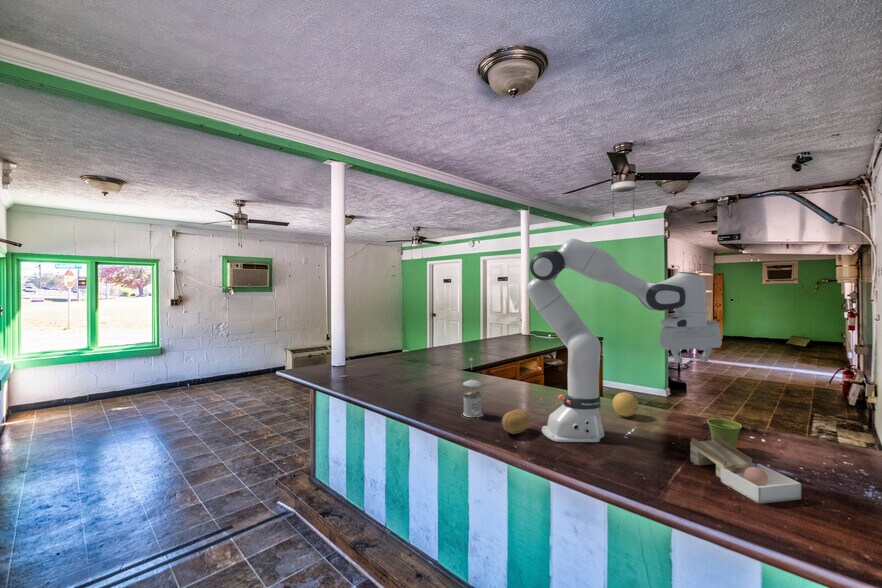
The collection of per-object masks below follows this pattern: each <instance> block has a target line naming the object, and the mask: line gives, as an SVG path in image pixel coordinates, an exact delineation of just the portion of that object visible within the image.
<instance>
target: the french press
mask: <svg viewBox="0 0 882 588" xmlns="http://www.w3.org/2000/svg"><path fill="white" fill-rule="evenodd" d="M474 361H475V360H474V358H473V357H470V358H469V362H471V363H470V365H471V369H473V362H474ZM462 385H463V387H467V388H477V389H478V391H477V390H467V391H464V395H463V412H462V413H463V415H464V416H466V417H481V416H483V414H484V413H483V412H482V399H483V395H484V394H483V387H482V383H481V382H480V381H478V380H476V379H469V380H466V381H464V382H463V383H462ZM480 389H481V391H480ZM483 417H484V416H483ZM481 418H482V417H481Z"/></svg>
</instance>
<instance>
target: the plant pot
mask: <svg viewBox="0 0 882 588" xmlns="http://www.w3.org/2000/svg"><path fill="white" fill-rule="evenodd" d="M706 423H707V424H708V428H709V430H710V437H711V440H714V436H717V437H719V438H720V439H722V440H724V441H725V442H727V443H728V444H730V445H731V446H733V447H734V448H736V449H737V443H738V438H739V433H740V431H741V429H742V428H743V426H742V424H741V423H739V422H736V421H733V420H729V419H726V418H725V419H724V418H708V419H707V420H706Z"/></svg>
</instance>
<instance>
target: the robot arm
mask: <svg viewBox="0 0 882 588" xmlns="http://www.w3.org/2000/svg"><path fill="white" fill-rule="evenodd" d="M565 269H570V270H573V271H574V272H577V273H578V274H581V275H582V276H584V277H586V278H589V279H592V280H594V281H598V282H601V283H607V284H611V285H614V286H616V287H618V288H620V289H622V290H624V291H626V292H628V293H629V294H631V295H632V296H635V297H636V298H637V299H638V300H639V301H640V302H641V304H642V305H643V306H644V307H645V308H647V309H649V310H651V311H658V312H666V311H669V310H674V315H671V316H669V317H666V318H664V319H661V321H660V324H661V326H662V328H661V329H660V334H659V346H660V348H662V350H666V351H670V353H671V354H672V356H673V357H674V359H673V360H674V363H675V364H676V363H677V364H682V363H683V357H681V356H680V354H679V353H680V351H681V350H694V349H695V350H697V349H698V350H699V349H701V350H702V351H703V352H702V354H701V355H700V356H699V358H700V359H699V361H700V362H702V363H703V362H704V363H705V362H706V363H707V362H709V356H710V355H711V352H712V349H718V348H721V346H722V344H723V342H722V333H721V329H720V323H719V322H718V321H716V320H715V319H709V320H708V319H707V317H708V316H707V308H706V301H707V287H706V282H705V278H704V276H703V275H701V274H700V273H695V272H688V271H687V272H685V271H682V272H681V271H680V272H677V273H676V274H674V275H673V276H671V277H669V278H667V279H665V280H662V281H660V282H649V281H647V280H643V279H642V278H640V277H638V276H636V275H635V274H632V273H631V272H629V271H626V270H625V269H624V268H623V267H622V266H621V265H620V264H619V262H618V261H617V259H616V258H615V257H614V256H613V255H611V254H610V253H608V252H607V251H605V250H603V249H602V248H601V247H598V246H596V245H594V244H592V243H589V242H586V241H583V240H580V239H577V238H569V239H567V240H566V241H565V242H564V243H562V245H561V246H560V248H558V250H557V249H554V248H553V249H552V248H549V249H548V248H547V249H542V250H540V251H539V252H537V253H535V254H534V255H533V257H532V258H531V260H530V262H529V271H530V273H531V274H532V277H533V279H531V280H530V281H529V282H528V284H527V285H526V288H525V289H526V290H525V291H526V293H527V295H528V298H529V300H530V301H531V303H532V305H533V306H534V308H535V309H536V311H537V312H538V313H539V314H540V316H541V317H542V319H544V321H545V323H547V324H548V326H549V327H550V329H551V330H552V331H553V332H554V333H555V334H556V336H557V337H558V338H559V339H560V341H561V342H562V343H563V344H564V346H565V347H566V348H567V393H566V395H563V394H559V395H558V400H560V401H562V402H563V403H562V404H561V405H560V406H559V407H558V408H557V409H555V410H554V411H553V412H551V413H550V414H549V416H548V418H547V419H548V420H547V425H543V426H541V427H542V428H541V432H542V434H543V435H544V436H545V437H546V438H548V439H550V440H551V441H553V442H558V443H599V442H600V441H601V439H602V438H604V437H605V436H606V435H605V431H604V429H603V428H604V427H603V425H602V424H603V423H602V418H601V407H602V406H601V405H602V404H601V395H600V383H599V382H600V367H601V366H600V363H601V343H600V342H601V341H600V340H599V338H598V337H597V336H596V335H595V334H594V333H593V332H592V331H591V330H590V329H589V327H588V326H587V325H586V323H585V321H583V319H582V318H581V317H580V315H579V314H578V312H577V311H576V310H575V308H574V307H573V306H572V304H570V302H569V301H568V300H567V299H566V297H565V296H564V295H563V294H562V292H561V291H560V290H559V289H558V287H557V286H556V283H555V280H556V279H557V277H558V276H559V275H560V273H561V272H562V271H563V270H565Z"/></svg>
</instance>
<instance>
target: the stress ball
mask: <svg viewBox="0 0 882 588" xmlns="http://www.w3.org/2000/svg"><path fill="white" fill-rule="evenodd" d="M612 407H613V409H614V411H615V412H616V413H617V414H618V415H619V416H621V417H623V418H629V417H632V416H634V415H635V414H636V413H637V412H638V410H639V409H640V407H639V402H638V399H637V397H635V396H634V395H633V394H632V393H630V392H624V391H623V392H619V393H617V394H616V395H614V397H613V399H612Z"/></svg>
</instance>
